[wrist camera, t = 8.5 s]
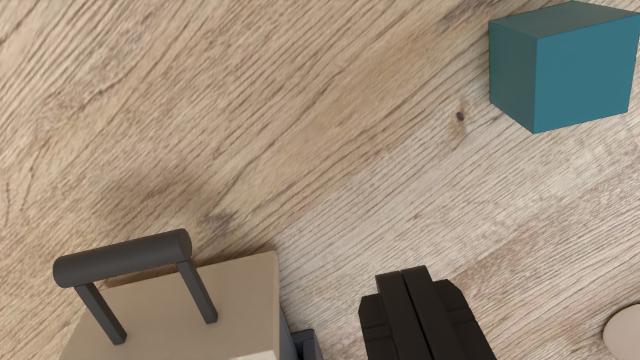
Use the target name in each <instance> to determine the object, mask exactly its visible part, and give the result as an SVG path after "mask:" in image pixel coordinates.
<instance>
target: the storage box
mask: <svg viewBox="0 0 640 360" xmlns="http://www.w3.org/2000/svg"><path fill="white" fill-rule="evenodd" d="M291 337H292V339H293V342H294V345H295V347H296V350H297V353H298V355H299V358H300V360H324V359H323V356H322V353H321V350H320V347H319V344H318V341H317V338H316V335H315V332H314V330H313V329H310V330H306V331H301V332H297V333H293V334H291Z"/></svg>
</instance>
